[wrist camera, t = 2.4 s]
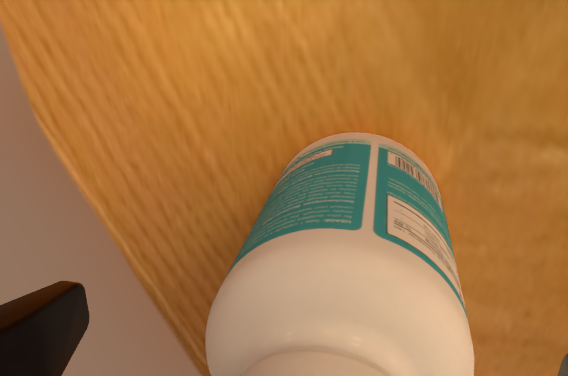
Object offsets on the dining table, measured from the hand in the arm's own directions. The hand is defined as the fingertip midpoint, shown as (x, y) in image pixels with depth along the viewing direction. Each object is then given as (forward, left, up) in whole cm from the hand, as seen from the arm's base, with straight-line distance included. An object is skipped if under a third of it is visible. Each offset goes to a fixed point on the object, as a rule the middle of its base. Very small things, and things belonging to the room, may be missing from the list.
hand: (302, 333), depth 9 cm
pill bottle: (-2, +3, -14) cm, 14 cm away
